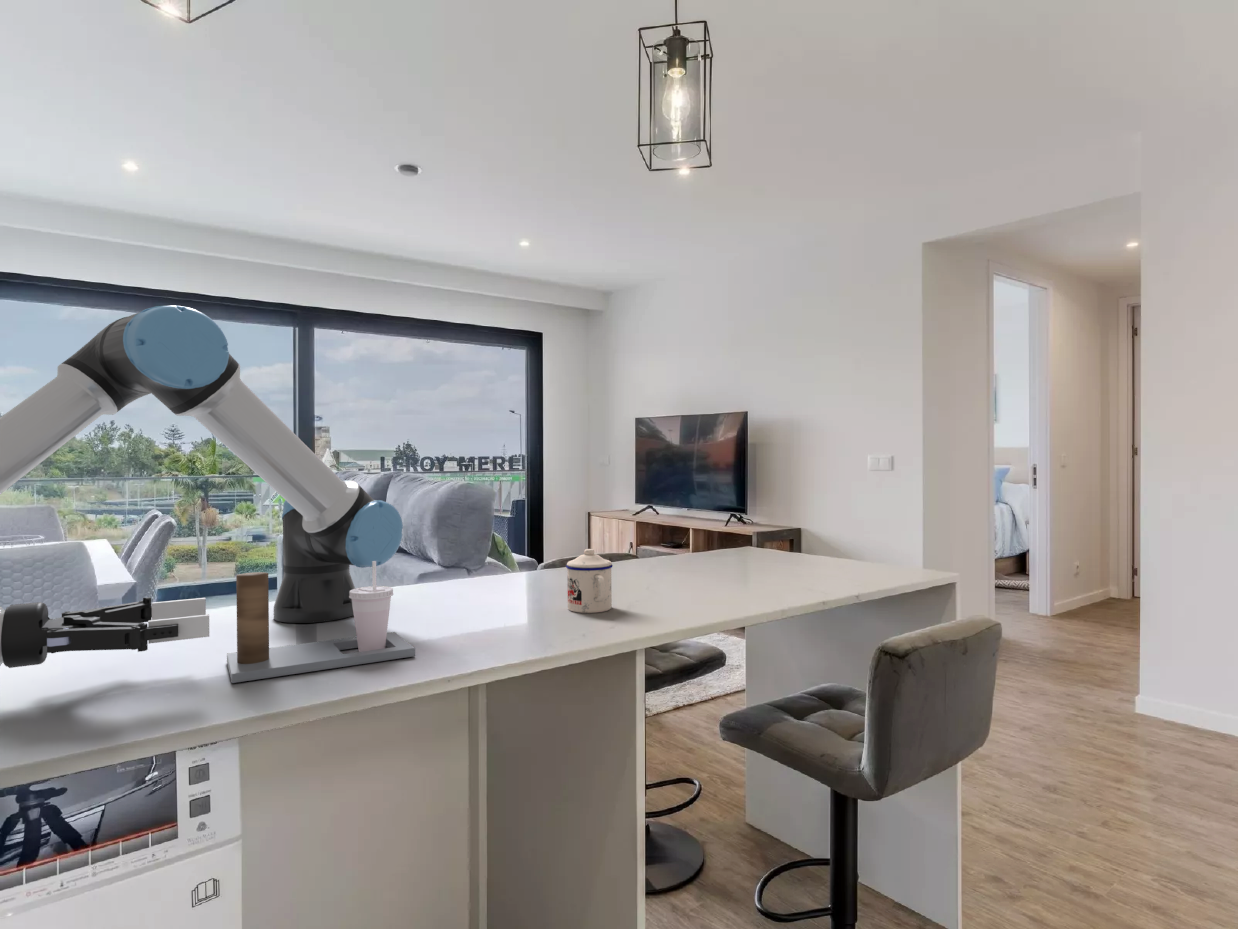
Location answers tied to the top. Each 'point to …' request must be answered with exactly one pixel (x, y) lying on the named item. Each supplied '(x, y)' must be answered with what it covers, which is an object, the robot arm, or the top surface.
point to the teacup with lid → (589, 583)
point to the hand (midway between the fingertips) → (207, 615)
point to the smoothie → (371, 614)
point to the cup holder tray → (291, 659)
